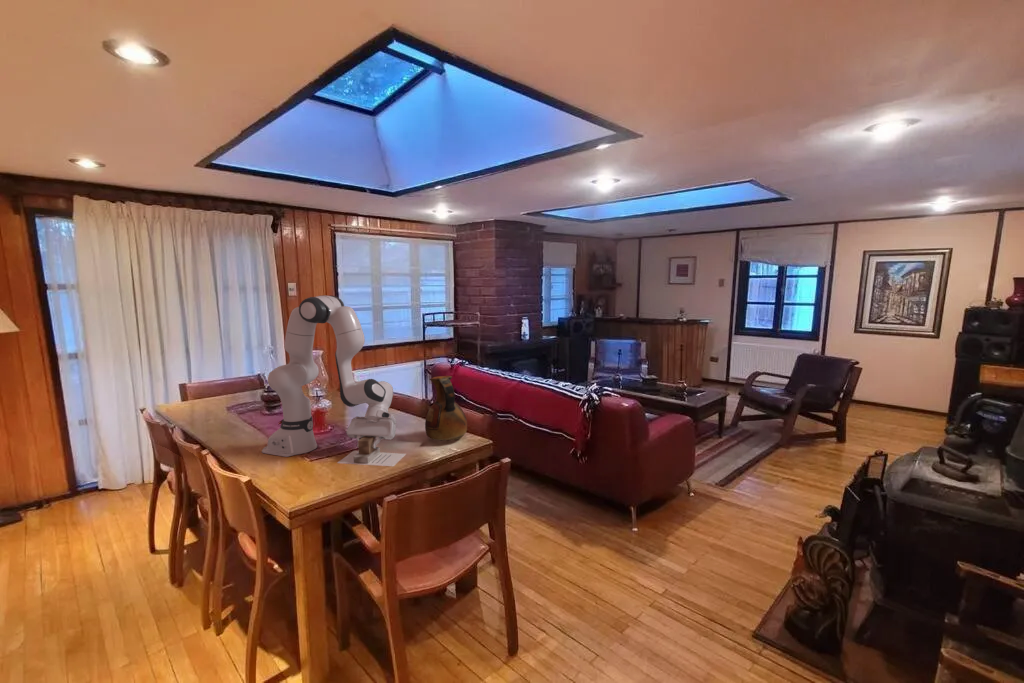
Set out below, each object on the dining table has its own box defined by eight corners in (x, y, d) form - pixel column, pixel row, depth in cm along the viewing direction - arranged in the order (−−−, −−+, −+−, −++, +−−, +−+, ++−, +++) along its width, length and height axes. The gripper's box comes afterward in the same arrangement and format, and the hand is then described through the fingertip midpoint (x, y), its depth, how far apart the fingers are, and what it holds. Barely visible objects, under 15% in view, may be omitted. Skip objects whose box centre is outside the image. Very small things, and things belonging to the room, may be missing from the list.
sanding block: (353, 462, 177) (352, 443, 176) (366, 452, 188) (365, 434, 187) (367, 463, 176) (366, 444, 175) (380, 452, 187) (379, 434, 186)
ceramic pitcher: (456, 428, 222) (454, 370, 219) (475, 440, 206) (473, 377, 202) (419, 436, 212) (416, 375, 208) (436, 449, 195) (434, 382, 191)
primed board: (337, 466, 177) (336, 462, 177) (353, 454, 190) (353, 450, 190) (393, 469, 174) (393, 466, 173) (406, 457, 186) (406, 453, 186)
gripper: (350, 412, 188) (339, 443, 180) (395, 414, 185) (386, 445, 177) (355, 419, 193) (345, 449, 185) (400, 421, 190) (391, 451, 182)
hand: (366, 447), depth 181 cm, fingers closed on sanding block, 4 cm apart
